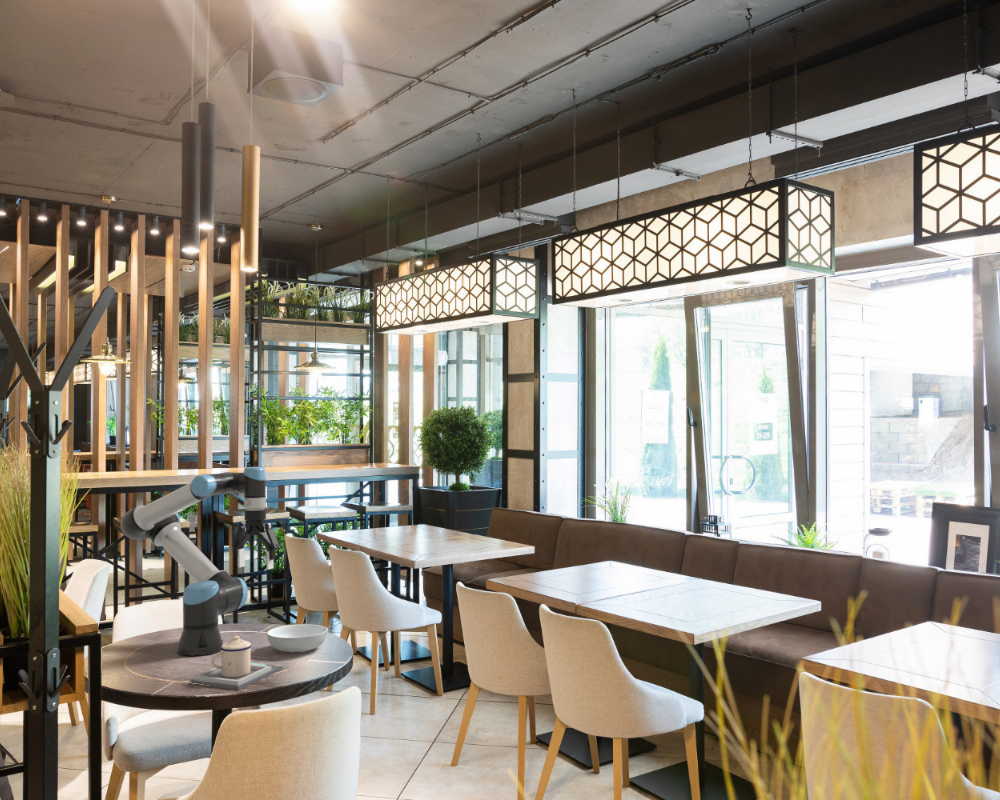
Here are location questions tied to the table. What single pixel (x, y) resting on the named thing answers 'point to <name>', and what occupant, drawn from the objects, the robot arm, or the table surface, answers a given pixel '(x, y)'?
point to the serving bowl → (297, 637)
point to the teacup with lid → (234, 658)
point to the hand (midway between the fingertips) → (255, 567)
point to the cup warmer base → (217, 680)
